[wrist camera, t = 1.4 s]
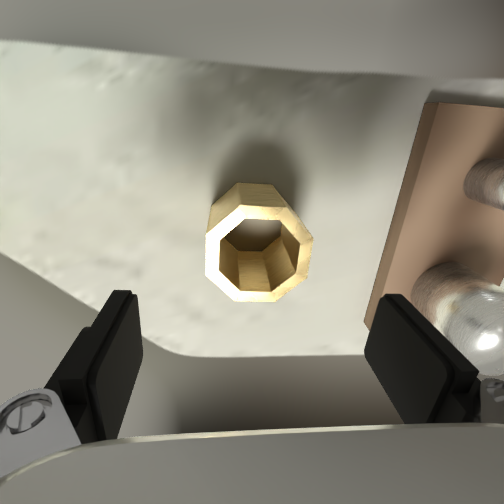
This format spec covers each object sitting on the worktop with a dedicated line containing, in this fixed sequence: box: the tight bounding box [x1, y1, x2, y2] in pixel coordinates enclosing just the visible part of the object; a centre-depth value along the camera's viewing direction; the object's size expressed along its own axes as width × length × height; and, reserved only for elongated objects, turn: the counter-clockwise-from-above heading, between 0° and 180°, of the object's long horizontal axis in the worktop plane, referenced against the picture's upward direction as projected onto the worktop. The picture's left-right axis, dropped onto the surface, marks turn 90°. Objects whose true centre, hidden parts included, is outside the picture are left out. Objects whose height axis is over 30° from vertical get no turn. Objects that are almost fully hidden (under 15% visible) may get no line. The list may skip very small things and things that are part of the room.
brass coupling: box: [205, 182, 313, 302], centre depth 20 cm, size 6×6×6 cm
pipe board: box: [364, 102, 504, 331], centre depth 23 cm, size 10×18×2 cm, turn 176°
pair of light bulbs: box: [411, 158, 504, 376], centre depth 20 cm, size 5×13×7 cm, turn 176°
